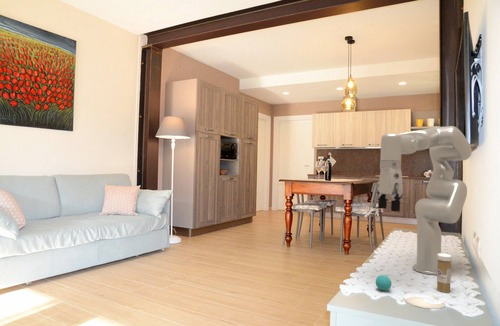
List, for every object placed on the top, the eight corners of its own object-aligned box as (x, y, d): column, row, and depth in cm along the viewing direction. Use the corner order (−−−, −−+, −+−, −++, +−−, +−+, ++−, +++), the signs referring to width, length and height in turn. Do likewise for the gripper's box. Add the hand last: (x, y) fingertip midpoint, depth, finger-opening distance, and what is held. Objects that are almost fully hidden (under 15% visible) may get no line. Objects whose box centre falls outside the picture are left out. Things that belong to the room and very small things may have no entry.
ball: (379, 286, 134) (379, 272, 134) (393, 290, 131) (394, 275, 131) (372, 290, 130) (373, 275, 130) (387, 294, 127) (387, 278, 127)
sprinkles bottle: (434, 289, 132) (434, 253, 132) (441, 287, 134) (442, 252, 134) (445, 293, 128) (446, 256, 128) (453, 291, 130) (454, 255, 130)
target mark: (410, 291, 130) (410, 290, 130) (450, 301, 121) (450, 300, 121) (396, 300, 121) (396, 300, 121) (438, 312, 112) (438, 311, 112)
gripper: (412, 166, 129) (410, 212, 129) (388, 166, 146) (386, 207, 146) (393, 165, 128) (391, 212, 128) (370, 165, 145) (369, 207, 145)
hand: (388, 209), depth 137 cm, fingers open, 9 cm apart
